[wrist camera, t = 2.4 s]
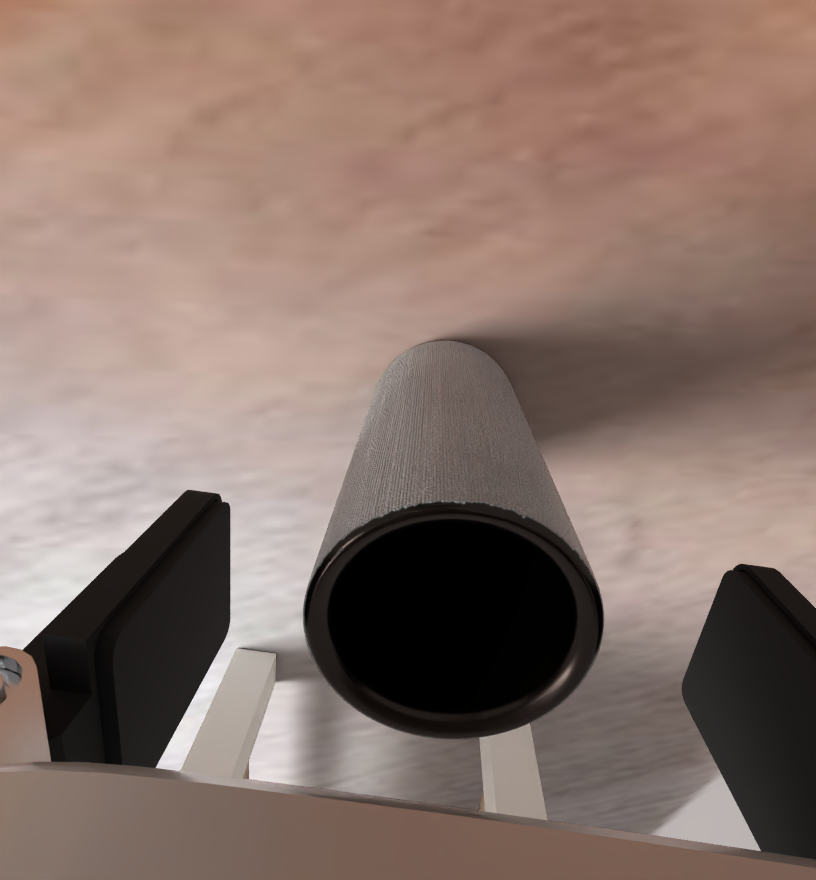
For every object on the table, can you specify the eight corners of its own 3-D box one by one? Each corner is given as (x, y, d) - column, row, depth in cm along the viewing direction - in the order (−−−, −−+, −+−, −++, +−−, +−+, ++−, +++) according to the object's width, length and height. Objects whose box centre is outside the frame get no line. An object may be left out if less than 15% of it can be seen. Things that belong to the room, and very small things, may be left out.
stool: (219, 632, 22) (84, 893, 13) (543, 673, 22) (610, 958, 13) (224, 839, 27) (128, 1122, 18) (487, 872, 27) (510, 1169, 18)
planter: (543, 395, 17) (674, 617, 8) (455, 495, 19) (474, 782, 9) (429, 308, 16) (421, 439, 7) (346, 420, 18) (245, 653, 8)
